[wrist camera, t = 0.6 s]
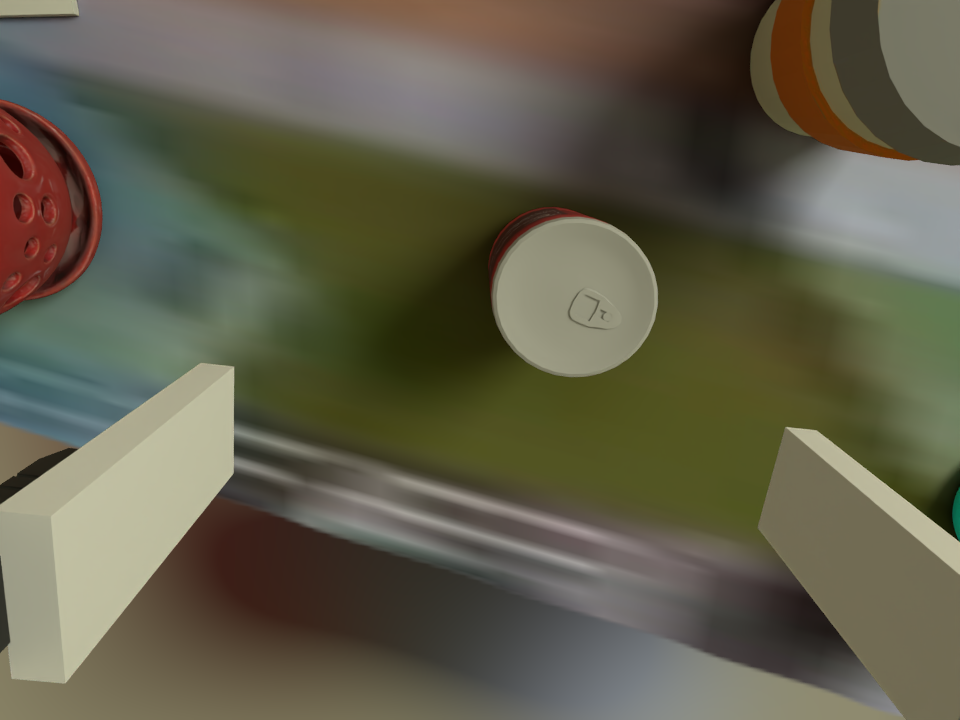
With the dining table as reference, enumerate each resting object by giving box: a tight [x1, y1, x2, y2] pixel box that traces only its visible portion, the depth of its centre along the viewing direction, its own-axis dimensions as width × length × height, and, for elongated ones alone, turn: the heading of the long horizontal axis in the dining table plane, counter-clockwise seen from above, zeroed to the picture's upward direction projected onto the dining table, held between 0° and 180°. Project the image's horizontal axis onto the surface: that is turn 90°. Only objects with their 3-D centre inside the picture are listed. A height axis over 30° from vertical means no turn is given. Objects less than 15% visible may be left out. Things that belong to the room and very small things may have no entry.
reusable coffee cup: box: [750, 0, 960, 165], centre depth 30 cm, size 13×12×15 cm
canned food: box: [488, 207, 658, 377], centre depth 35 cm, size 8×8×11 cm
